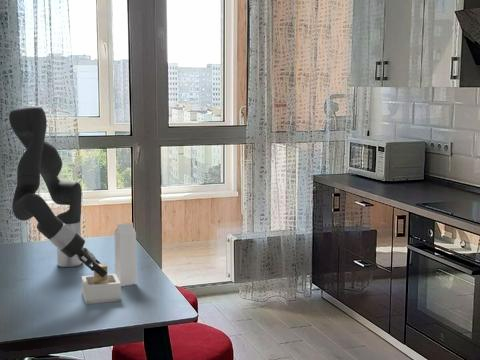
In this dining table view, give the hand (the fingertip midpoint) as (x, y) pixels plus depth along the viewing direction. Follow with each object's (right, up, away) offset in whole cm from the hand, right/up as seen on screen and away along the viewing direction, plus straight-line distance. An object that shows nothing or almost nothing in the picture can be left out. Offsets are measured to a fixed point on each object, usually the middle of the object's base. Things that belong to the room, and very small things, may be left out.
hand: (103, 271), depth 204 cm
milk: (+4, -7, +16) cm, 18 cm away
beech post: (-1, -8, +1) cm, 8 cm away
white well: (-1, -9, +1) cm, 9 cm away
